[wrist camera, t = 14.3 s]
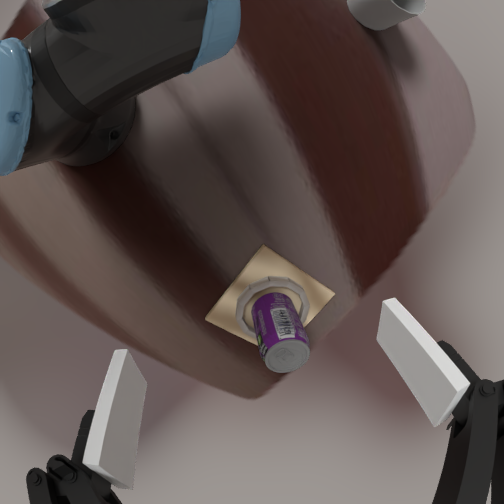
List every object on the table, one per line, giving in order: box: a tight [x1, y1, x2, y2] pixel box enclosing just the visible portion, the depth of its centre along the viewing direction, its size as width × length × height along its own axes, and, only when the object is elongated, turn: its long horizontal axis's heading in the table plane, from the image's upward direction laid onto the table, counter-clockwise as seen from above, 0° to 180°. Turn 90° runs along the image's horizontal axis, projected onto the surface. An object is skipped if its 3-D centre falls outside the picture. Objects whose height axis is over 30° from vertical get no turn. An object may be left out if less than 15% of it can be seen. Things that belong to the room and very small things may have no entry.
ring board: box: [205, 244, 335, 345], centre depth 46 cm, size 16×16×2 cm
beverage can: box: [251, 292, 310, 373], centre depth 41 cm, size 7×7×12 cm
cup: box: [347, 0, 426, 30], centre depth 23 cm, size 8×8×10 cm
